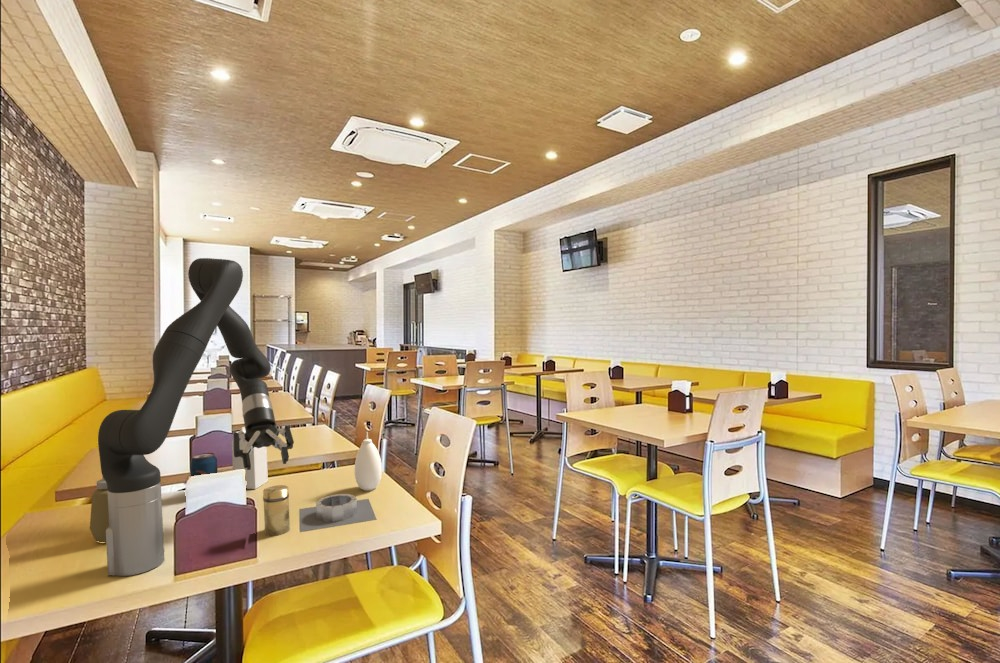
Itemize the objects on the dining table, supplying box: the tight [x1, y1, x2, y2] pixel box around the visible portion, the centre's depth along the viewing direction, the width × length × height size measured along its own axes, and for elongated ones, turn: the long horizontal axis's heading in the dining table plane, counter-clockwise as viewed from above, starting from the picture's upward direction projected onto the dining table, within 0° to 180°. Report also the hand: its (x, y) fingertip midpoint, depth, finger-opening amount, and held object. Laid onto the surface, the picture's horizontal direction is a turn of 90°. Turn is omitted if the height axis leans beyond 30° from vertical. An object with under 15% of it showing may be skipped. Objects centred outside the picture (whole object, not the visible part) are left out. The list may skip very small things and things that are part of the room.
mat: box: [299, 498, 378, 533], centre depth 134 cm, size 18×16×1 cm
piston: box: [262, 484, 291, 537], centre depth 124 cm, size 6×6×11 cm
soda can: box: [189, 452, 219, 477], centre depth 153 cm, size 7×7×12 cm
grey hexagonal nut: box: [315, 493, 357, 522], centre depth 134 cm, size 10×10×4 cm
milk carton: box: [231, 425, 269, 490], centre depth 161 cm, size 7×7×19 cm
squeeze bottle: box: [89, 476, 109, 542], centre depth 124 cm, size 8×8×18 cm
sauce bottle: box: [354, 431, 383, 492], centre depth 153 cm, size 8×8×18 cm
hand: (267, 465), depth 133 cm, fingers open, 8 cm apart
